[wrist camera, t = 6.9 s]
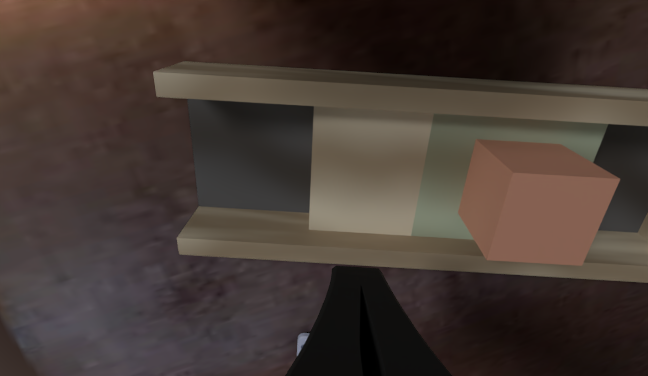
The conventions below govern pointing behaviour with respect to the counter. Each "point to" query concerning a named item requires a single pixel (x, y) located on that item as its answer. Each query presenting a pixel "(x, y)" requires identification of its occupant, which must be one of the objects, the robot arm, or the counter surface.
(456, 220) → the trap lane
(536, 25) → the counter surface
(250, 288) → the counter surface
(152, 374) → the counter surface
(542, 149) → the block
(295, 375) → the robot arm
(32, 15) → the counter surface
